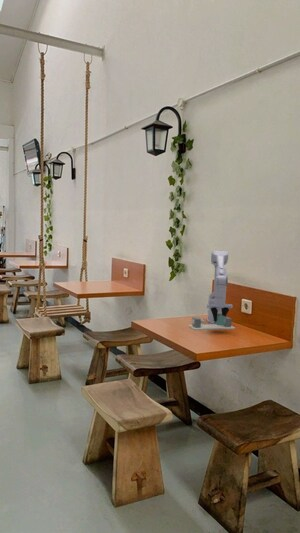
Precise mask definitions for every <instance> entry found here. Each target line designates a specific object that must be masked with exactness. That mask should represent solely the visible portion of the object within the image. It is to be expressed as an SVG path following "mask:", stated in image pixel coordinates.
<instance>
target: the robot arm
mask: <svg viewBox="0 0 300 533" xmlns="http://www.w3.org/2000/svg"><path fill="white" fill-rule="evenodd" d="M210 254H211V256H210V257H211V258H210V263H211V265H213V267H214V275H213V276H214V277H213V278H214V279H213V280H214V282H213V291H212V292H211V293H209V295H208V303H207V304H206V308H207V309H208V310H207V319H206V321H207V322H209V324H215V323H213V321H215V322H216V321H217V313H219V314H222V315H224V316H225V317H227V314H228V313H229V311H230V309H233V307H234V306H233V304H229V303H226V300H227V297H226V296H227V286H228V284H229V283H228V282H229V281H228V280H229V279H228V277H229V276H228V275H227V269H226V267H225V265H227V264H228V261H229V251H228V250H225V251H223V250H211V253H210Z"/></svg>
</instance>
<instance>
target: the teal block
mask: <svg viewBox="0 0 300 533" xmlns="http://www.w3.org/2000/svg"><path fill="white" fill-rule="evenodd" d="M213 323H215V324H216V325H225V316H224V315H222V314H219V313H217V321H216V322H215V321H213Z"/></svg>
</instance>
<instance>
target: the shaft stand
mask: <svg viewBox="0 0 300 533" xmlns="http://www.w3.org/2000/svg"><path fill="white" fill-rule="evenodd" d="M232 319H233V318H231V317H229V316H226V317H225V325H216V324H212V323H209V324H207V323H206V324H204V322H205V320H204V319H203V318H199V317H197V316H196V317H192V319H191V320H192V324H188V327H189V328H190V329H192V330H193V331H211V330H217V331H218V330H235V329H236V327H235V326H233V325H232V323H233V322H232Z"/></svg>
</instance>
